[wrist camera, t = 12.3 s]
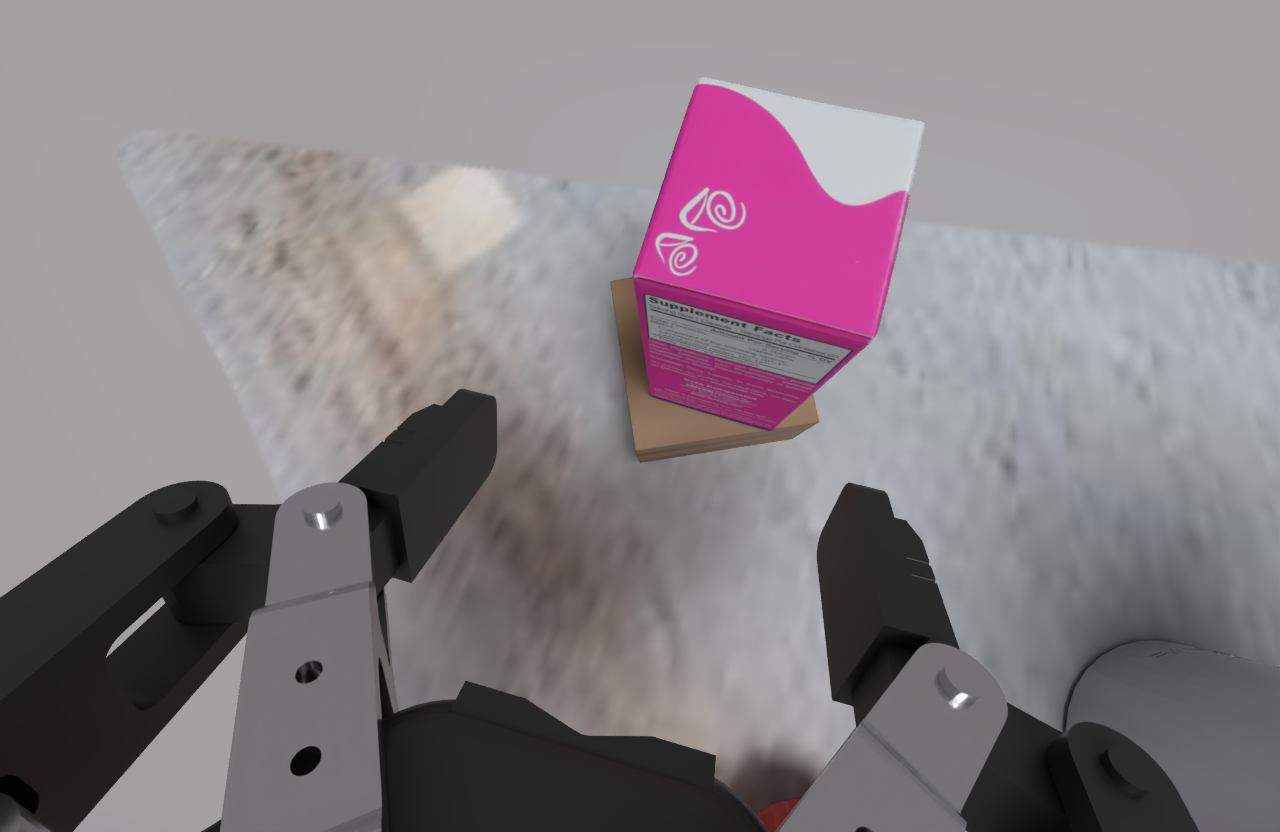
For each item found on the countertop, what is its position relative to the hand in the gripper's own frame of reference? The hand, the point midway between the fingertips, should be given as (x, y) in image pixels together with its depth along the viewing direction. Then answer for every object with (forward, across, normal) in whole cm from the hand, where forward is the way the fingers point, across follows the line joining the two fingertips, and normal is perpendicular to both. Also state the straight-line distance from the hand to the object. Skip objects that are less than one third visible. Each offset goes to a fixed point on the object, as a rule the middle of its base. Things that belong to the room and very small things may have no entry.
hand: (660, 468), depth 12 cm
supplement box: (+12, +1, -3) cm, 12 cm away
